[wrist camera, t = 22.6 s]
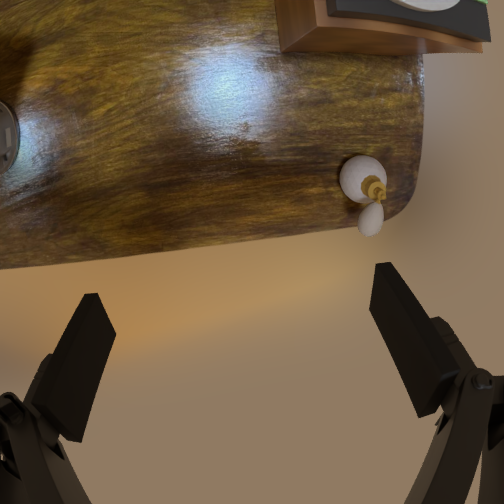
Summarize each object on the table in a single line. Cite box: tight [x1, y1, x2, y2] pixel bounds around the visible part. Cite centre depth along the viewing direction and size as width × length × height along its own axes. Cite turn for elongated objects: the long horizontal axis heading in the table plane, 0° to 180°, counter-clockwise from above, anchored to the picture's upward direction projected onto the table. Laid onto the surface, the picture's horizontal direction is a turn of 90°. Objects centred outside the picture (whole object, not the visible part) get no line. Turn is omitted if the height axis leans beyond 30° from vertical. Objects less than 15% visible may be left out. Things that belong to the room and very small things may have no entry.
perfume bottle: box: [340, 155, 387, 237], centre depth 44 cm, size 8×10×12 cm
